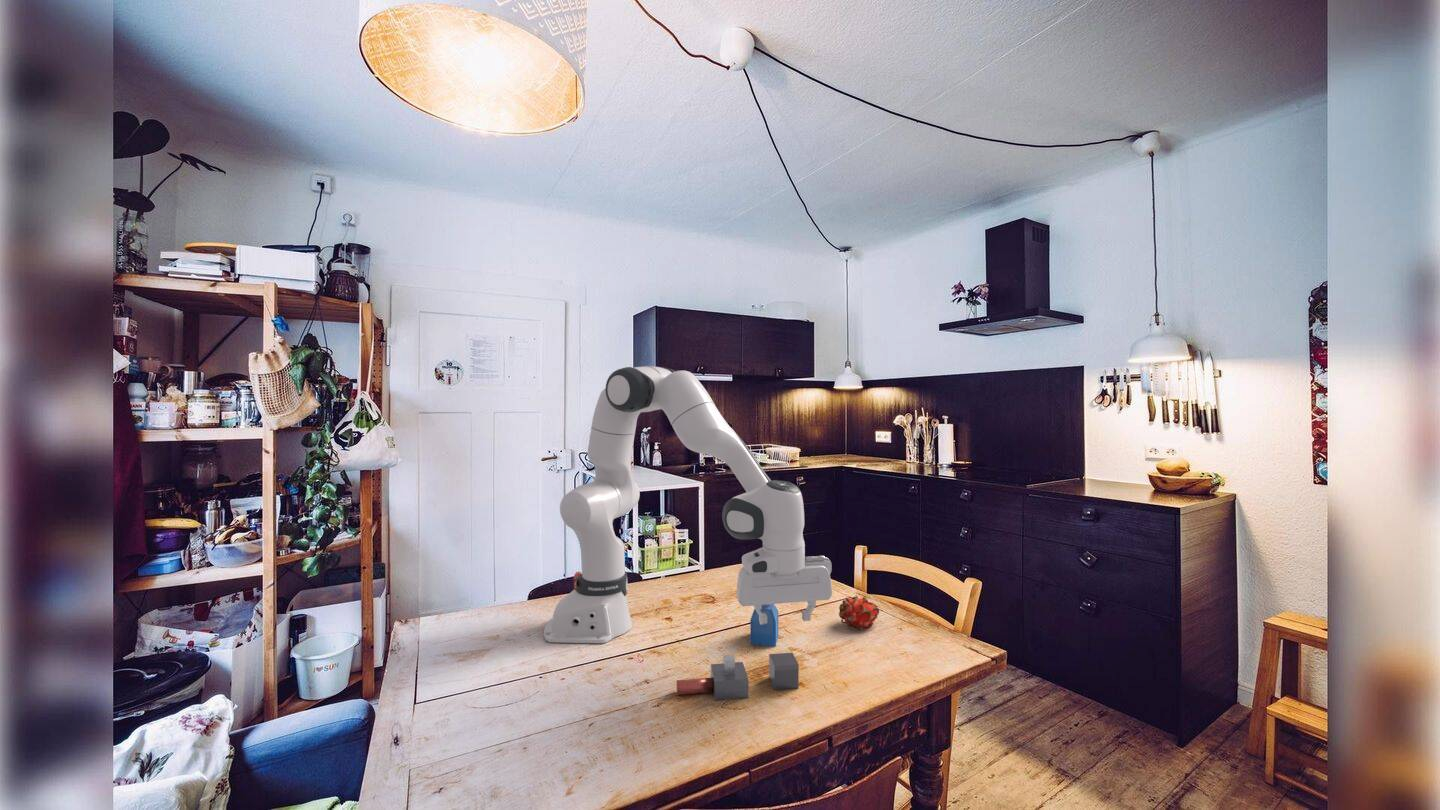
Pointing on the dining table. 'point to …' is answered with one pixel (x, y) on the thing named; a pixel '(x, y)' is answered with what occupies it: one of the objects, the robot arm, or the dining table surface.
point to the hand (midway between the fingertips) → (784, 621)
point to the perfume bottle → (765, 627)
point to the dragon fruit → (858, 612)
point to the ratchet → (719, 681)
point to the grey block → (783, 671)
